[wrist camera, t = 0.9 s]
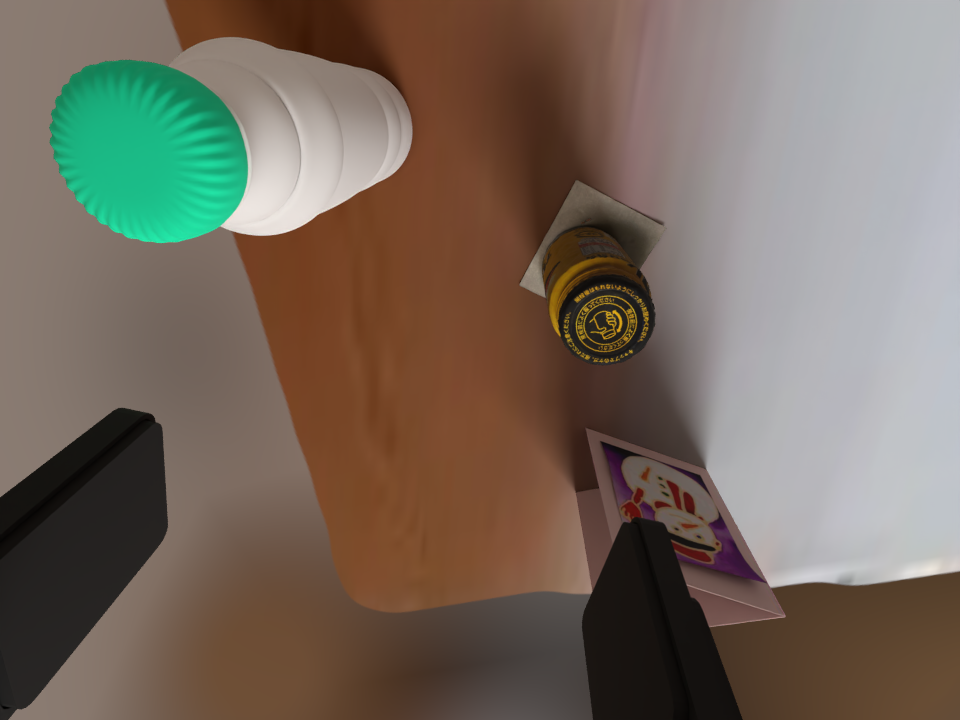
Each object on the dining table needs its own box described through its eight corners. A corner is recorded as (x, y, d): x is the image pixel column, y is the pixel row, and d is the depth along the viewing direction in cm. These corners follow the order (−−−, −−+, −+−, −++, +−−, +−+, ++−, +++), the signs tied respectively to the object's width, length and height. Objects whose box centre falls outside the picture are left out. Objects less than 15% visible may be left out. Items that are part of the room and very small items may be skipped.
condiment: (519, 284, 41) (521, 348, 30) (576, 179, 37) (602, 209, 27) (602, 325, 42) (634, 402, 31) (665, 226, 39) (725, 274, 28)
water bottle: (407, 191, 38) (258, 311, 16) (308, 170, 38) (13, 263, 15) (421, 80, 35) (261, 33, 13) (314, 58, 35) (-43, -31, 12)
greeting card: (711, 461, 47) (793, 607, 33) (669, 523, 50) (729, 680, 36) (589, 419, 45) (623, 552, 32) (554, 485, 49) (571, 632, 35)
